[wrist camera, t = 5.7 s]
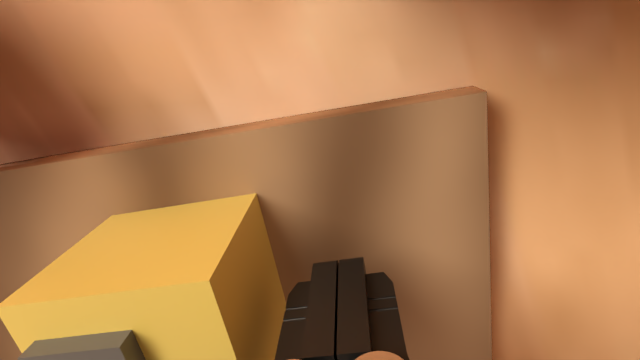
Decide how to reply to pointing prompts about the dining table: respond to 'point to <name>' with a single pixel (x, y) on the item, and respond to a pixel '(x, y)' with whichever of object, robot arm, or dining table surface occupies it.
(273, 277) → the yellow cube
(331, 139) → the board
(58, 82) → the dining table surface
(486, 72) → the dining table surface
